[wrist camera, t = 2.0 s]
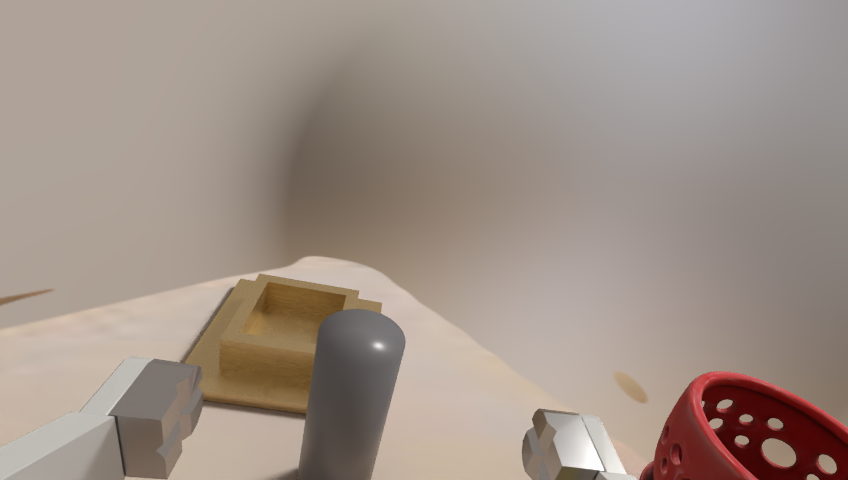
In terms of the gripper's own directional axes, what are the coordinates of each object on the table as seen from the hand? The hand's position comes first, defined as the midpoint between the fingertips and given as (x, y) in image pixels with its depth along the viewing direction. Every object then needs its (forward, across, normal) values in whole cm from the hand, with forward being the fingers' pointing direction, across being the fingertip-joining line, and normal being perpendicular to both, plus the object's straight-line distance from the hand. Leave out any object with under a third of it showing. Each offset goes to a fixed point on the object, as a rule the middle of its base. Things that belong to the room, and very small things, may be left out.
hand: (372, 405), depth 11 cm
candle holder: (+26, +7, +22) cm, 35 cm away
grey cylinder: (+12, +1, +22) cm, 25 cm away
